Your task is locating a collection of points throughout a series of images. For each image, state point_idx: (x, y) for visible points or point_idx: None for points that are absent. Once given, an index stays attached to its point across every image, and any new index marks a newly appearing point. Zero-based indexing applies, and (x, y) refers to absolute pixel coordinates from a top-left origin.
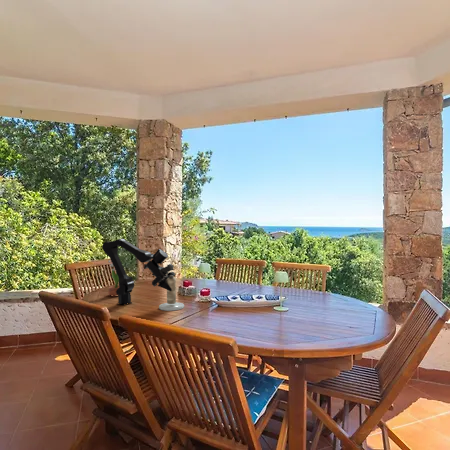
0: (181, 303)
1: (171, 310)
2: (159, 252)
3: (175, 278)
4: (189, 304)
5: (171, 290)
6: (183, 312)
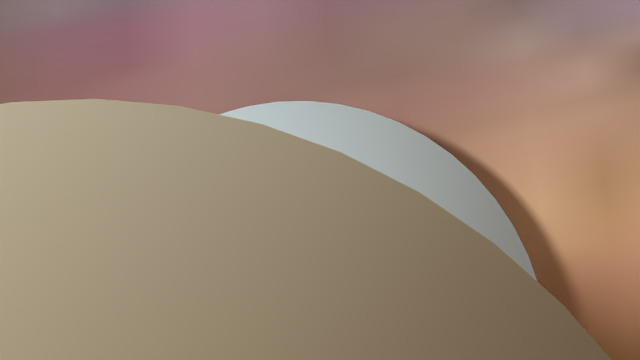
0: None
1: None
2: None
3: (138, 105)
4: (68, 63)
5: None
6: (595, 47)
